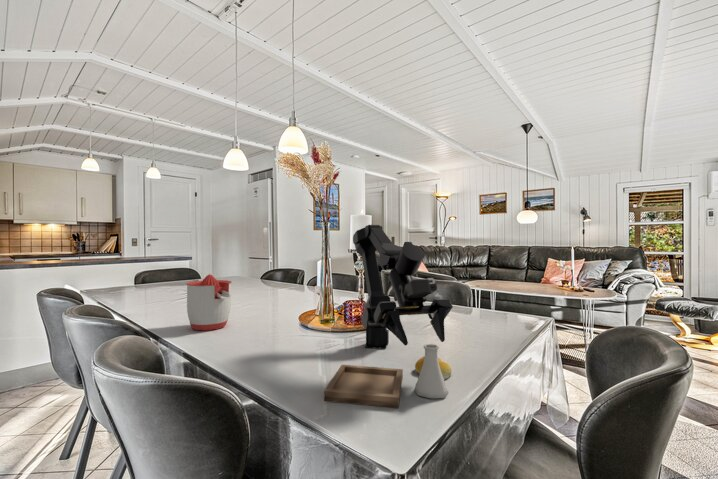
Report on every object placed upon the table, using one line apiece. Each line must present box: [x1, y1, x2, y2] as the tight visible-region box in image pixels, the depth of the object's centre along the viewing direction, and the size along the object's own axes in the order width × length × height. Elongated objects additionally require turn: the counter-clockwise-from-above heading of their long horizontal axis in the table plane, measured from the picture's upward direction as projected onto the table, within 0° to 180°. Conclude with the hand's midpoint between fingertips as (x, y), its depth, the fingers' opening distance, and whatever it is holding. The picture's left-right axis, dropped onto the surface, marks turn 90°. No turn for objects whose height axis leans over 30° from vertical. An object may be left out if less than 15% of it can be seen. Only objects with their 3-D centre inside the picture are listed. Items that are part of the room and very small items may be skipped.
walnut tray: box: [323, 364, 404, 409], centre depth 74 cm, size 15×15×2 cm
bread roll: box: [414, 355, 452, 381], centre depth 83 cm, size 8×9×4 cm
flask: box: [413, 343, 449, 400], centre depth 72 cm, size 7×7×10 cm
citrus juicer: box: [186, 273, 232, 332], centre depth 126 cm, size 16×17×20 cm
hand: (425, 342), depth 75 cm, fingers open, 9 cm apart
